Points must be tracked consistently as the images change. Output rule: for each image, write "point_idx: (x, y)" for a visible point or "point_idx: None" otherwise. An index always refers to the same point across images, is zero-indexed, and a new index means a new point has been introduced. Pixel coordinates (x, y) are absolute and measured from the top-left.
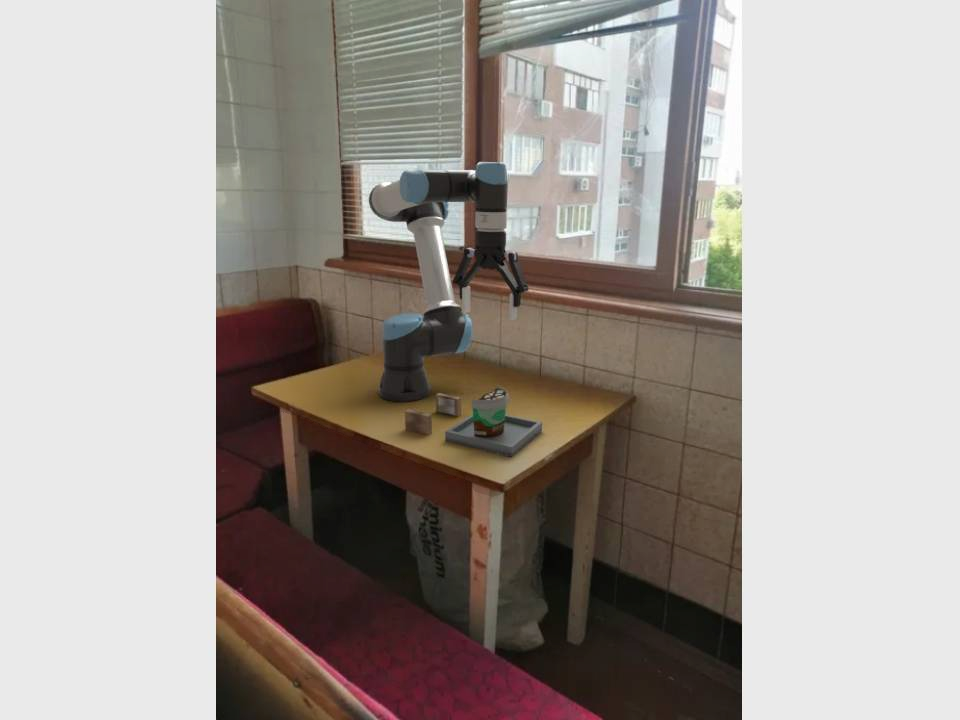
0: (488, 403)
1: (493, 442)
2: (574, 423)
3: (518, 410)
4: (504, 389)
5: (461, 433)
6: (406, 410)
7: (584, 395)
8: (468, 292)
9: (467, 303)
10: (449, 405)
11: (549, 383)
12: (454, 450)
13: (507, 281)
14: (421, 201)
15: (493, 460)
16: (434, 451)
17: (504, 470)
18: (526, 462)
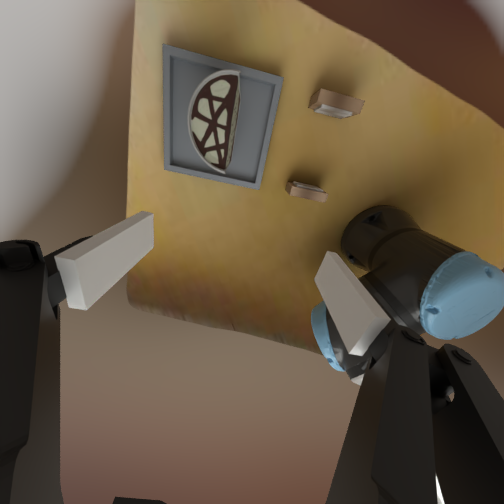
0: (207, 76)
1: (196, 54)
2: (144, 207)
3: (221, 226)
4: (203, 158)
5: (256, 77)
6: (362, 105)
7: (169, 288)
8: (345, 320)
9: (330, 283)
10: (302, 184)
11: (216, 308)
12: (257, 45)
13: (13, 329)
14: None
15: (188, 25)
16: (286, 27)
17: None
18: (141, 38)
